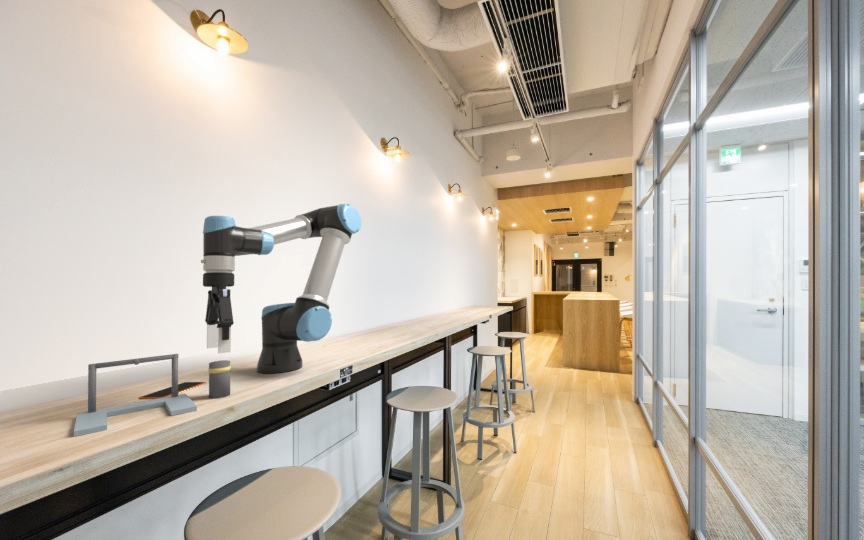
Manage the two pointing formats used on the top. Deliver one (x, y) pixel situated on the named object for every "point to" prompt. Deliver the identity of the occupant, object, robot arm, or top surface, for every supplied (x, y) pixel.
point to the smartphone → (168, 391)
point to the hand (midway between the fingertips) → (218, 350)
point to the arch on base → (98, 418)
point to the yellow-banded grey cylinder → (219, 379)
